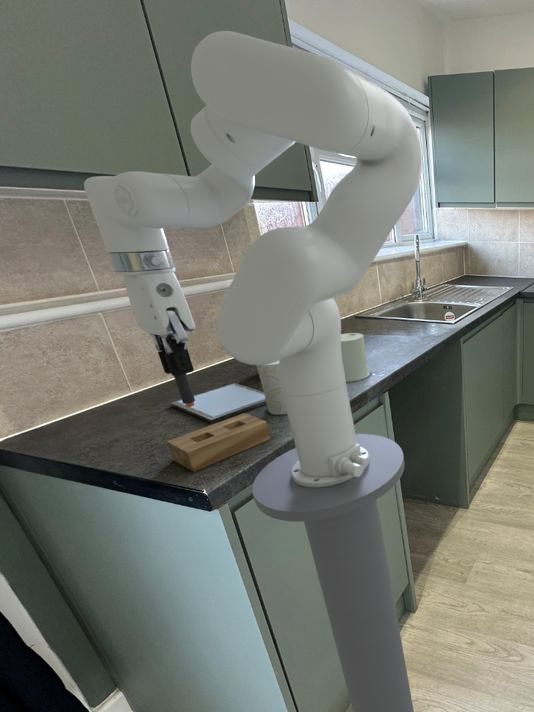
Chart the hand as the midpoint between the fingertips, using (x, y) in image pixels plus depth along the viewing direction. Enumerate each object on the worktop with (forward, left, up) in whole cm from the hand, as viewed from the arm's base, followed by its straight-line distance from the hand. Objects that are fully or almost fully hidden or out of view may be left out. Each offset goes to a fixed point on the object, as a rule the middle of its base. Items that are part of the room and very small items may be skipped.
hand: (179, 371), depth 73 cm
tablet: (+25, -15, -17) cm, 34 cm away
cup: (+8, -21, -17) cm, 28 cm away
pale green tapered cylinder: (+12, -43, -17) cm, 48 cm away
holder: (0, -3, -17) cm, 17 cm away
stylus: (0, 0, -7) cm, 7 cm away
